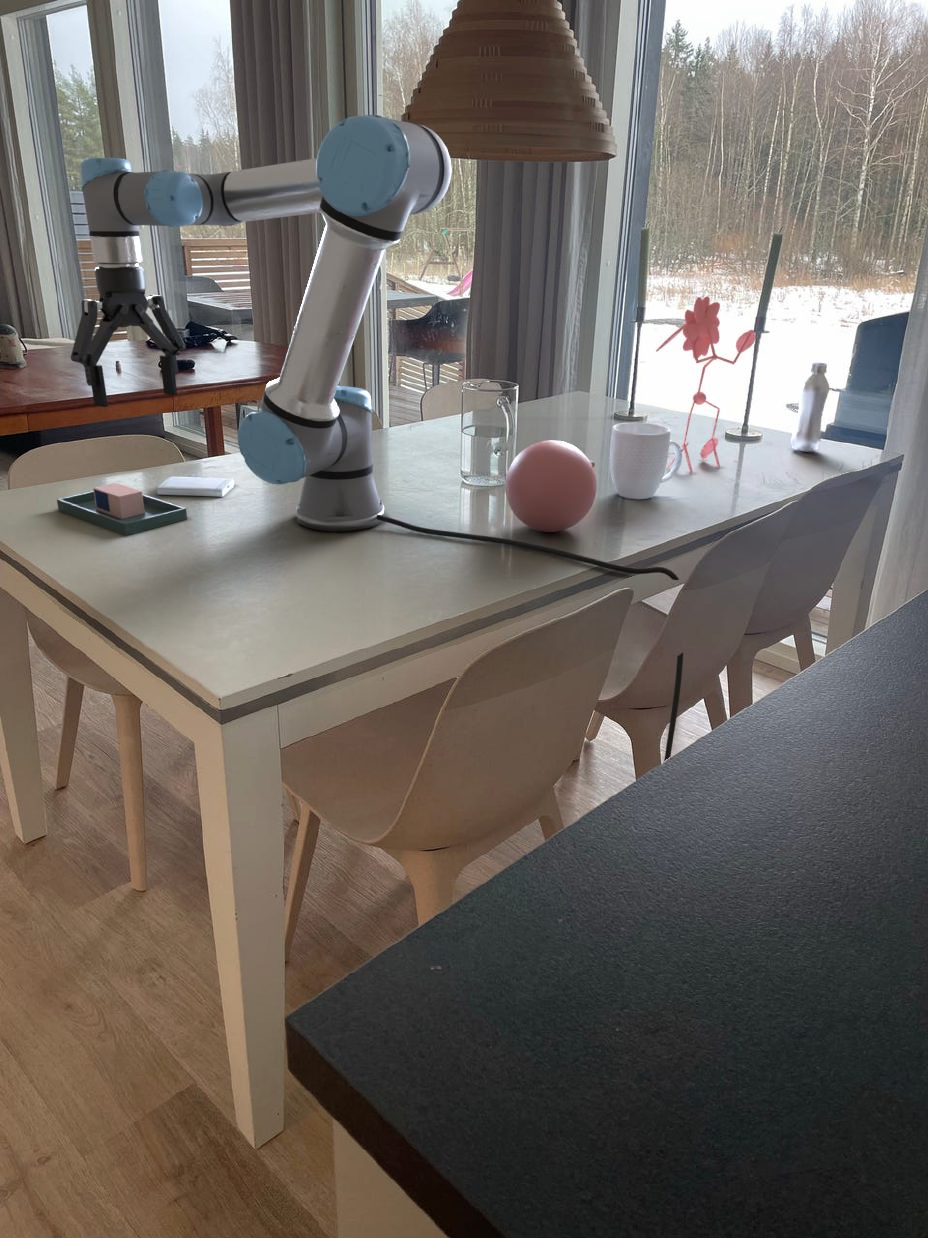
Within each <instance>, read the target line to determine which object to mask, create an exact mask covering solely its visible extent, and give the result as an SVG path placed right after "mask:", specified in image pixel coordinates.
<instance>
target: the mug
mask: <svg viewBox="0 0 928 1238" xmlns="http://www.w3.org/2000/svg"><path fill="white" fill-rule="evenodd" d="M611 430H612V431H611V437H610V450H609V451H610V452H609V454H610V455H609V469H610V470H609V472H610V476H611V481H612V485H613V487H614V489H615V491H616V493H617V494H618V495H619V496H620V497H621V498H625V499H628V500H646V499H647V500H648V499H650V498H652V497H653V496H654V495H655V494H656V492H657V490H658V489H659V487H660V485H661V484H662V483H665V482H668V481H669V480H671V479H673V478H674V477H675V476H676V475H677V474H678V472H679V470H680V468H681V465H682V460H683V451H681V450H682V449H681V448H682V447H681V446H680V445H679V444H678V443H677V441H675V440H673V439H671V431H672V430H671V429H670V427H667V426H665V425H661V424H656V423H648V422H647V423H646V422H623V423H617V424H614V425H613V426H612V429H611ZM670 446H672V447H673V449H674V452H675V457H676V458H675V457H674V458H675V461H674V462H673V466H672V468H671V469H670V471H669V472H668V473H666V474H665V472H666V468H667V464H668V458H669V455H670V453H669V451H670Z"/></svg>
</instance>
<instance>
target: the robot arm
mask: <svg viewBox="0 0 928 1238" xmlns="http://www.w3.org/2000/svg"><path fill="white" fill-rule="evenodd" d="M79 167H80V179H81V180H80V182H81V192H82V195H83V196H82V197H83V201H84V208H85V214H86V221H87V226H88V232H89V233H88V235H89V240H90V247H91V255H92V259H93V260H92V261H93V263H94V264H95V265H97V267H95V269H94V276H95V281H96V282H95V283H96V289H97V291H98V294H99V300H97V301H96V300H93V299H82V300H81V317H80V321H79V324H78V328H77V332H76V336H75V340H74V343H73V347H72V351H71V355H70V360H71V361H72V362H73V363H78V364H81V365H83V368H84V375H85V380H86V381H85V382H86V384H87V386H90V387H91V392H92V398H93V404H94V406H97V407H102V408H107V407H109V403H108V396H107V389H106V383H105V375H104V370H103V369H104V368H103V365H101V364H98V362H99V360H100V358H101V357H102V355H103V353H104V351H105V349H106V347H107V346H108V344H109V342H110V340H111V338H112V336H113V335H114V333H115V332H116V331H117V330H118V328H128V327H140V329H142V331H143V332H144V333H145V334H146V335H147V336H148V337H149V338H150V340H151V341H152V342H153V343H154V344H155V345H156V346H157V347H158V349H159V350H160V351H161V352H162V353H163V354H161V355H160V354H159V363H160V370H161V378H162V379H161V380H162V386H163V395H169V396H178V388H177V381H176V375H178V371H179V368H178V360H177V357H178V356H180V355H181V351H185V350H186V344H185V342H184V340H183V338H182V337H181V335H180V333H179V331H178V329H177V328H176V325H175V323H174V322H173V320H172V318H171V316H170V314H169V312H168V311H167V308H166V305H165V299H164V297H163V296H162V295H157V294H150V295H148V297H147V295H146V289H147V283H146V282H147V281H146V276H145V269H144V268H143V267H142V266H141V264H142V263H143V262H144V258H143V257H144V256H143V251H142V249H143V248H142V243H141V237H140V236H141V235H140V228H139V226H153V227H155V226H156V227H169V228H174V227H175V228H177V227H184V226H189V227H190V226H220V227H232V226H236V225H240V224H242V223H244V222H252V221H253V222H254V221H261V220H262V221H263V220H269V219H278V218H285V217H294V216H302V215H310V214H318V213H321V215H322V217H323V220H324V222H325V227H324V231H323V233H322V237H321V240H320V244H319V247H318V250H317V253H316V256H315V259H314V263H313V266H312V270H311V273H310V277H309V280H308V283H307V287H306V289H305V292H304V296H303V299H302V303H301V306H300V309H299V313H298V316H297V319H296V323H295V326H294V329H293V332H292V336H291V338H290V342H289V346H288V349H287V352H286V356H285V359H284V362H283V365H282V368H281V371H280V374H279V377H278V378H276V379H274V380H273V379H272V380H270V381H269V382H268V383H267V384H266V386H265V388H264V392H263V395H262V398H261V402H260V405H259V408H258V409H256V410H253V411H250V412H249V413H248V414H247V415H245V416H244V418H243V419H242V420H241V422H240V424H239V426H238V430H237V444H238V449H239V452H240V455H241V456H242V458H243V459H244V463H245V465H246V466H247V468H248V469H249V470H250V472H252V473H253V475H254V476H256V477H257V478H258V479H260V480H261V481H264V482H265V483H267V484H272V485H285V484H290V483H296V482H298V481H300V480H301V479H304V481H303V484H302V489H301V494H300V499H299V501H298V503H297V505H296V509H295V511H296V521H297V523H298V524H300V526H303V527H305V528H308V529H312V530H315V531H321V532H323V531H324V532H353V531H361V530H366V529H369V528H373V527H376V526H377V525H380V524H381V523H382V522H384V523H388V524H392V525H394V526H398V527H400V528H403V529H407V530H410V531H412V532H417V533H422V534H427V535H433V536H441V537H450V538H456V539H464V540H472V541H480V542H488V543H495V544H501V545H506V546H507V545H508V546H512V547H518V548H522V549H527V550H531V551H537V552H542V553H546V554H549V555H550V554H551V555H554V556H557V557H562V558H566V559H570V560H573V561H578V562H581V563H586V564H590V565H594V566H597V567H600V568H601V567H602V568H605V569H608V570H613V571H617V572H621V573H622V572H623V573H627V574H633V575H646V574H647V575H648V574H655V573H657V574H658V573H660V574H664V575H666V576H668V577H669V578H670V579H671V580H673V581H679V580H680V578H679V576H678V575H676V573H675V572H674V571H672V570H671V569H669V568H667V567H664V566H649V567H631V566H625V565H621V564H616V563H612V562H608V561H604V560H601V559H596V558H592V557H588V556H584V555H581V554H576V553H572V552H568V551H565V550H561V549H557V548H553V547H548V546H544V545H540V544H535V543H530V542H524V541H520V540H515V539H509V538H504V537H503V538H502V537H496V536H490V535H481V534H473V533H465V532H458V531H450V530H442V529H434V528H428V527H423V526H418V525H415V524H411V523H408V522H406V521H402V520H398V519H395V518H394V517H388V516H386V515H385V506H384V504H383V503H384V502H382V500H381V497H380V494H379V489H378V486H377V484H376V480H375V478H374V469H373V467H374V463H373V455H374V454H373V414H374V410H373V409H372V398H371V394H370V392H369V391H367V390H366V389H364V388H360V387H354V386H347V385H339V384H340V381H341V379H342V375H343V372H344V369H345V367H346V364H347V361H348V358H349V355H350V352H351V349H352V346H353V343H354V340H355V338H356V335H357V332H358V329H359V326H360V323H361V320H362V317H363V314H364V311H365V309H366V305H367V302H368V300H369V297H370V294H371V292H372V288H373V286H374V282H375V280H376V277H377V274H378V272H379V269H380V265H381V262H382V260H383V256H384V254H385V250H386V249H387V248H388V247H391V246H394V245H395V244H398V243H399V242H400V241H401V238H402V235H403V233H404V229H405V227H406V224H407V221H408V218H409V216H410V215H418V214H421V213H426V212H428V211H430V210H431V209H433V208H435V207H436V206H437V205H439V204H440V202H441V201H442V200H443V198H444V197H445V195H446V194H447V191H448V189H449V186H450V184H451V179H452V161H451V157H450V154H449V151H448V147H447V146H446V145H445V143H444V141H443V140H442V138H441V137H440V136H439V135H438V134H437V133H436V132H435V131H434V130H433V129H431V128H429V127H427V126H425V125H424V124H419V123H415V122H409V121H402V120H398V119H393V118H388V117H383V116H382V115H378V114H365V115H354V116H350V117H347V118H345V119H343V120H341V121H339V122H338V123H336V124H335V125H334V126H333V127H332V128H331V129H330V130H329V131H328V132H327V134H326V135H325V137H324V138H323V140H322V141H321V144H320V146H319V149H318V152H317V157H315V158H309V159H303V160H296V161H290V162H283V163H277V164H272V165H265V166H258V167H253V168H252V167H251V168H246V169H239V170H232V171H224V172H219V173H211V174H210V173H209V174H208V173H207V174H202V173H200V174H198V173H187V172H184V171H176V170H167V169H165V170H160V171H141V172H133V171H132V166H131V163H130V161H129V160H127V159H125V158H119V157H87V158H84V159H83V160H81V163H80V166H79ZM148 308H149V309H150V310H151V313H152V315H153V316H154V318H155V320H156V322H157V324H158V326H159V327H160V329H159V327H158V326H157V325H156V324H155V323H154V320H153V318H152V317H150V315H149V314H148V313H147V312H148V311H147V310H148ZM101 312H102V314H103V315H102V317H101V319H100V321H99V323H98V325H99V326H98V328H97V329H96V326H97V322H98V315H99V314H100V313H101ZM95 329H96V332H95ZM94 333H95V334H94ZM683 666H684V652H681V653H680V654H679V655H677V657H676V667H675V668H676V669H675V670H676V671H675V680H674V690H673V698H672V705H671V712H670V718H669V719H670V720H669V727H668V732H667V740H666V746H665V753H664V760H663V762H664V761H665V760H666V759H668V758H669V757H670V758H671V755H672V749H673V742H674V737H675V730H676V725H677V724H676V723H677V717H678V710H679V704H680V696H681V695H680V694H681V686H682V677H683Z"/></svg>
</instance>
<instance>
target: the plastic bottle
mask: <svg viewBox="0 0 928 1238" xmlns="http://www.w3.org/2000/svg"><path fill="white" fill-rule="evenodd" d="M827 369H828V364H827V363H825V362H810V364H809V369H808V372H809V374H808V375H806V377H805V378H804V379H803V380H802V382H801V383H800V386H799V403H798V412H797V419H796V422H795V427H794V430H793V431H792V434H791V440H790V441H791V442H790V445H791V447H792V449H793V450H796V451H799V452H803V453H808V452H815V451H816V450H817V449H818V448H819V446H820V445H821V444H820V443H821V438H822V436H821V433H822V432H821V429H822V427H821V426H822V417H823V412H824V408H825V404H826V401H827V398H828V394H829V392H830V384H829V382H828V379H827V377H826V375H825V374H826V373H827Z"/></svg>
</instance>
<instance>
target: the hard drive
mask: <svg viewBox="0 0 928 1238" xmlns="http://www.w3.org/2000/svg"><path fill="white" fill-rule="evenodd" d="M234 486H235V479H234V478H220V477H198V476H197V477H196V476H175V475H174V476H169V477H167V478H166V479H165V480H164V481H163V482H161V483H160V484H158V486H157V487H156V495H160V496H189V497H190V496H192V497H194V496H195V497H221V498H222V497H224V496H225V495H226V494H228V492H229V491H231V490H232V489H233V488H234Z"/></svg>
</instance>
